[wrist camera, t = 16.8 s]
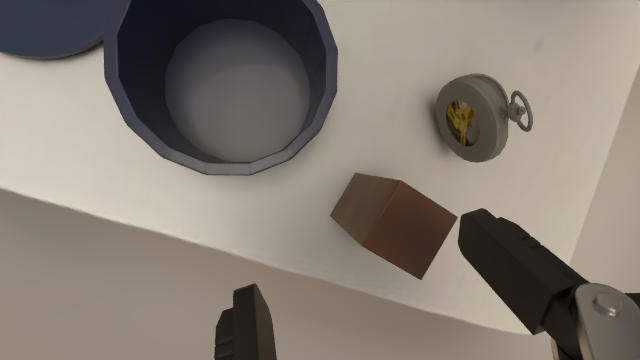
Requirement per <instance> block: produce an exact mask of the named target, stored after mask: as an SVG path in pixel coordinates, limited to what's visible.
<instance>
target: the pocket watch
mask: <svg viewBox="0 0 640 360" xmlns="http://www.w3.org/2000/svg"><path fill="white" fill-rule="evenodd" d="M516 95H518V96H519V97H520V99H521V100H522V101H523V102H524V105H525V108H526V110H527V113H528V119H529V121H528V126H527V128H526V127H525V126H524V125H523V124H522V122H521V121H520V119H521V117H522V115H523V114H525V112H526V110H525V108H524V107H523V106H522V107H520V106H519V105H518V104H517V103H515V97H516ZM436 117H437V122H438V126H439V129H440V131H441V134H442V136H443V138H444V140H445V141H446V143H447V144H448V146H449V147H450V148H451V149H452V150H453V151H454V152H455V153H456V154H457V155H458V156H460V157H461V158H463V159H464V160H467V161H470V162H484V161H487V160H490V159H493V158H495V157H496V156H498V155H499V154H500V153H501V151H502V150H503V148H504V147H505V145H506V141H507V138H508V120H509V118H510V119H511V120H512V121H514V122H517V124H518V125H519V127H520V128H521V129H522V130H524V131H526V132H528V131H530V130H531V129H532V125H533V117H532V112H531V109H530V106H529V103H528V101H527V99H526V98H525V97H524V95H523V94H522V93H521V92H519V91H514V92H513V93H512V95H511V103H510V104H509V101H508V97H507V95H506V93H505V90H504V89H503V88H502V86H501V85H500V84H499V83H498V82H497V81H496V80H495V79H493V78H491V77H490V76H487V75H484V74H470V75H466V76H462V77H460V78H457V79H454V80H452V81H451V82H449V83H448V84H447V85H445V86H444V87H443V88H442V90H441V91H440V93H439V95H438V98H437V102H436Z"/></svg>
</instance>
